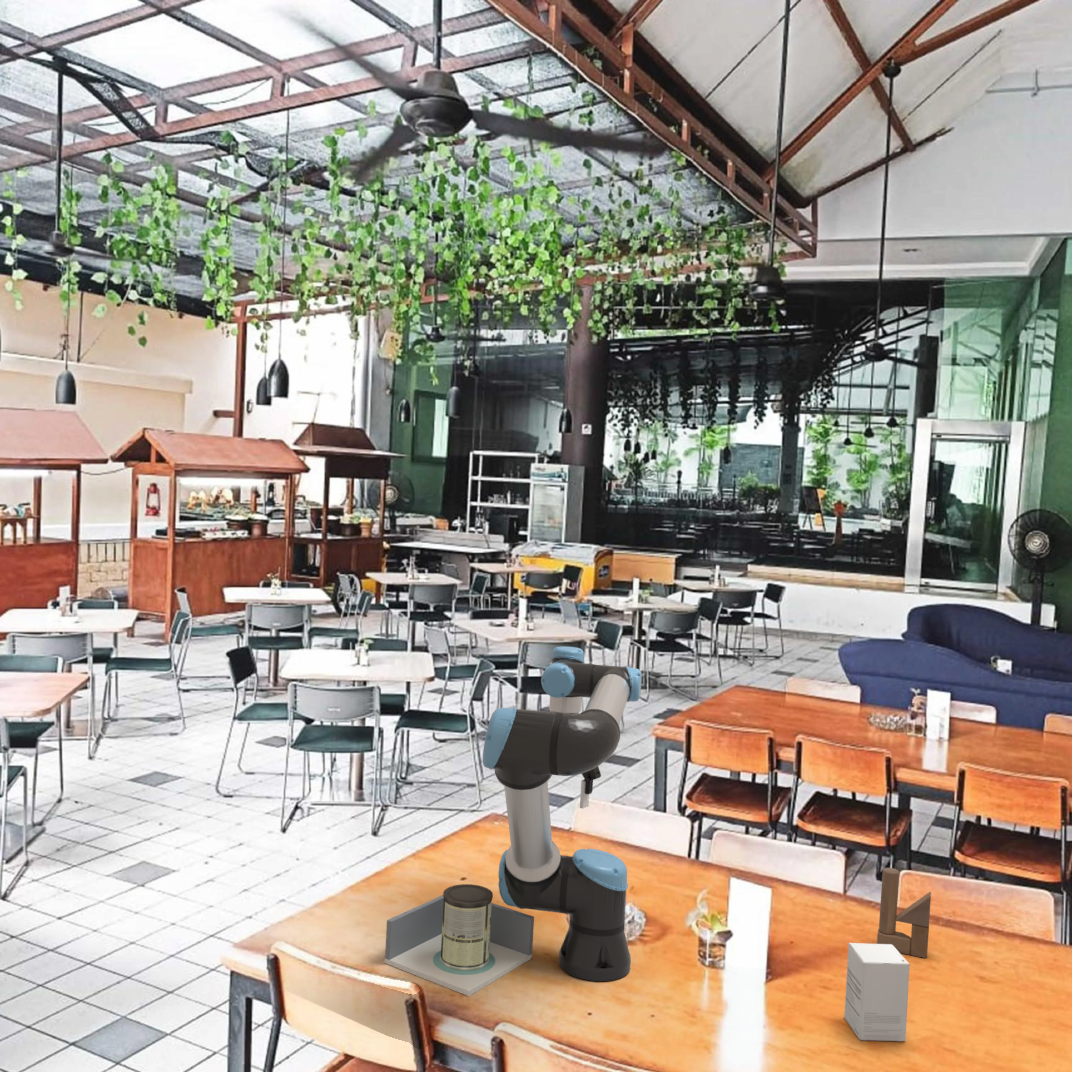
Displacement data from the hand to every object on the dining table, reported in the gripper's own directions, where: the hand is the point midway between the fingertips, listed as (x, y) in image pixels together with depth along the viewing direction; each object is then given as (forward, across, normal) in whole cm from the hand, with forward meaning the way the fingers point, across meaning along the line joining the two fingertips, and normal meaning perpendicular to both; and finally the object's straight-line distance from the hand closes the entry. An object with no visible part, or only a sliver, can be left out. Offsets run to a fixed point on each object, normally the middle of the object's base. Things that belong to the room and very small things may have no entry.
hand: (559, 801), depth 241 cm
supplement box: (+27, -77, +6) cm, 82 cm away
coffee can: (+26, -1, +36) cm, 44 cm away
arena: (+27, +1, +35) cm, 44 cm away
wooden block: (+27, -72, -35) cm, 84 cm away
